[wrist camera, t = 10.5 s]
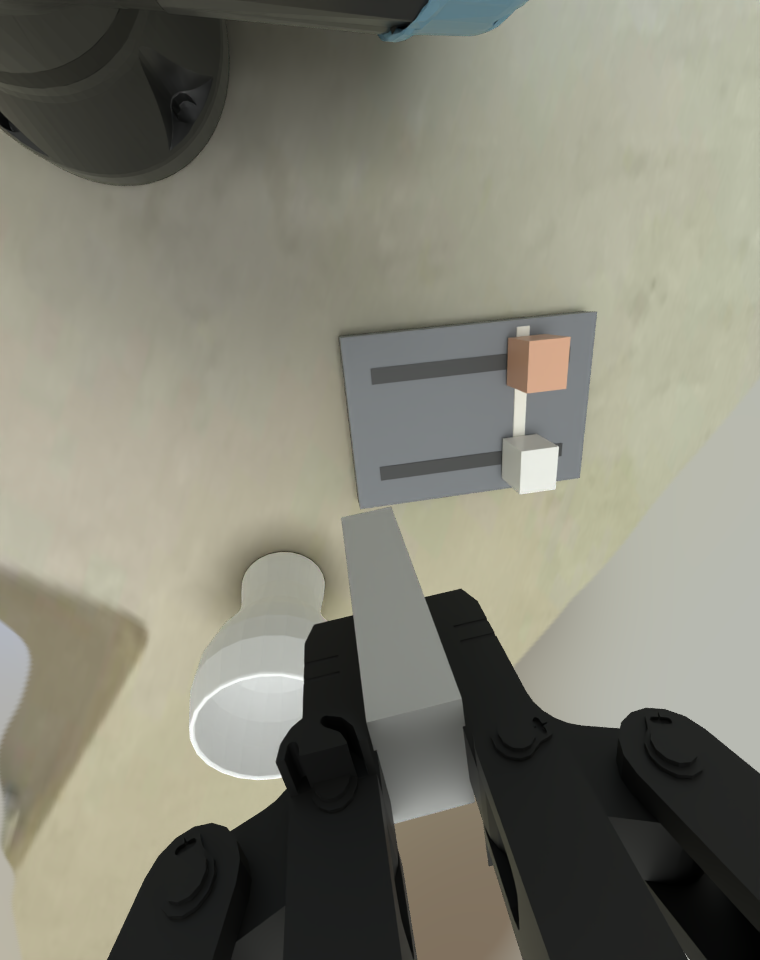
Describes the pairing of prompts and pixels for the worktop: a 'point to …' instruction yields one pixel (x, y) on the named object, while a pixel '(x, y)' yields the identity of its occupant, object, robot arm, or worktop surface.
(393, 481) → the console
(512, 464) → the block
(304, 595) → the cup
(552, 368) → the fader front
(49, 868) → the worktop surface
